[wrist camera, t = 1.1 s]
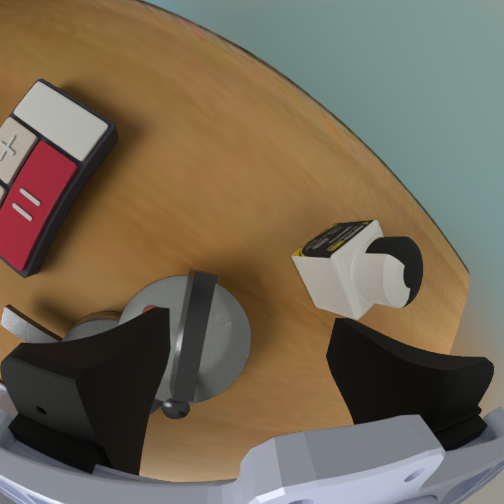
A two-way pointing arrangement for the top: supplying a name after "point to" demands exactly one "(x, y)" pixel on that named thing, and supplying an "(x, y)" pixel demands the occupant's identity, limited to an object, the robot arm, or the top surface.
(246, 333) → the lid
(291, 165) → the top surface
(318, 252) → the medicine bottle
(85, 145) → the calculator
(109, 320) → the pot
